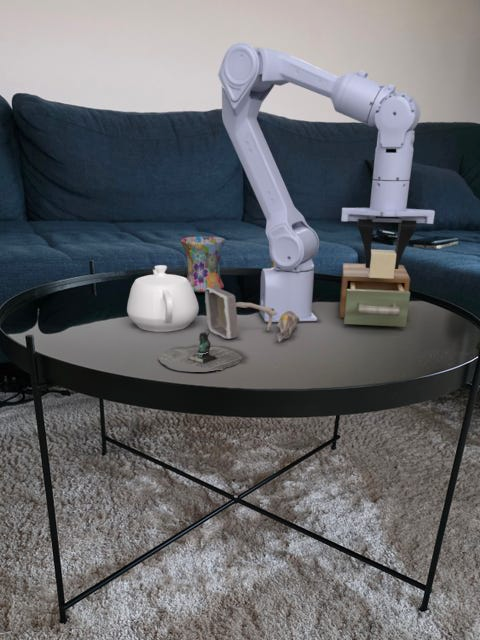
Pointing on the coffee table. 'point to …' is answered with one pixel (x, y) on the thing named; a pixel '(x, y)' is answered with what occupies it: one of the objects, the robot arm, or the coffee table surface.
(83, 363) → the coffee table surface
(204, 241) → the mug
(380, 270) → the block
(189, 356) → the sculpture
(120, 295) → the coffee table surface
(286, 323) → the decorative sculpture
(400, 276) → the cabinet
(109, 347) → the coffee table surface
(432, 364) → the coffee table surface
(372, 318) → the drawer
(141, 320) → the teapot
